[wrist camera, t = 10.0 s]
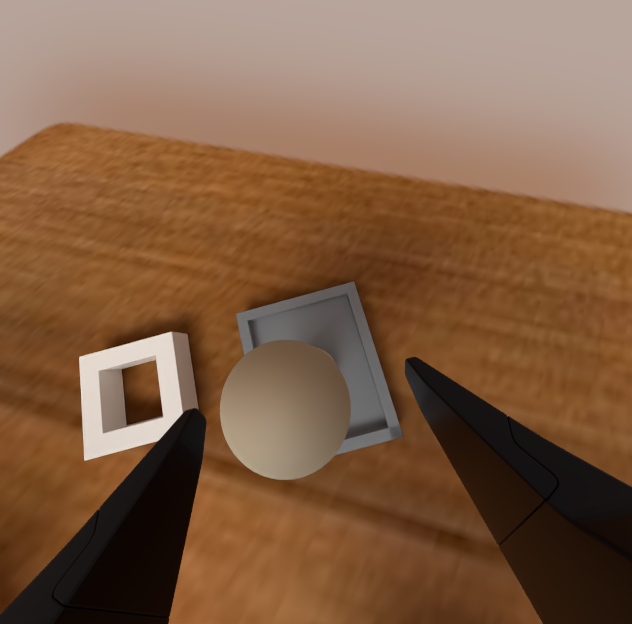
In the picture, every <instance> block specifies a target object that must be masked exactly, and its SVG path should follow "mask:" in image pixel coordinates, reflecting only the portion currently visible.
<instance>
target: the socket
mask: <svg viewBox="0 0 632 624" xmlns="http://www.w3.org/2000/svg"><path fill="white" fill-rule="evenodd" d="M153 360H156V361H157V369H158V377H159V386H160V394H161V403H162V411H163V416H159V417H156V418H152V419H148V420H145V421H141V422H137V423H134V424H130V425H127V424H126V412H125V401H124V389H123V378H122V369H124V368H128V367H131V366H135V365H139V364H142V363H146V362H150V361H153ZM79 362H80V382H81V402H82V421H83V441H84V461H85V460H89V459H93V458H96V457H100V456H104V455H108V454H111V453H115V452H119V451H122V450H126V449H130V448H133V447H137V446H141V445H144V444H148V443H152V442H155V441H159V440H160V438H161V437H162V436H163V435H164V434H165V433H166V432H167V431H168V429H169V428H170V427H171V426H172V425H173V424H174V423H175V421H176V420H177V419H178V418H179V417H180V416H181V415H182V413H183V412H184V411H186V410H188V409H192V408H197V409H198V410H199V408H198V401H197V395H196V388H195V381H194V375H193V368H192V361H191V355H190V348H189V341H188V335H187V334H185V333H178V332H168V333H165V334H161V335H157V336H154V337H150V338H147V339H143V340H139V341H136V342H132V343H128V344H125V345H121V346H117V347H114V348H110V349H107V350H103V351H99V352H96V353H92V354H88V355H85V356H81V357H79Z"/></svg>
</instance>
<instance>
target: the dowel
mask: <svg viewBox="0 0 632 624" xmlns="http://www.w3.org/2000/svg"><path fill="white" fill-rule="evenodd" d="M350 416H351V401H350V395H349V390H348V387H347V384H346V381H345V379H344V377H343V375H342V373H341V371H340V370H339V368H338V366H337V365H336V363H335V361H334V359H333V358H332V357H331V355H330V354H329V353H327V352H326V351H324V350H322V349H319V348H317V347H315V346H312V345H310V344H308V343H305V342H301V341H296V340H276V341H271V342H268V343H265V344H262V345H260V346H258V347H256V348H254V349H253V350H251V351H250V352H248V353H247V354H246V355H245V356H243V357H242V358H241V359H240V360H239V361H238V363H237V364H236V365H235V366H234V368H233V369H232V371H231V373H230V374H229V376H228V378H227V380H226V382H225V385H224V388H223V391H222V396H221V402H220V419H221V425H222V430H223V433H224V436H225V439H226V441H227V443H228V445H229V447H230V448H231V450H232V452H233V453H234V454H235V456H236V457H237V458H238V459H239V460H240V461H241V462H242V463H243V464H244V465H245V466H246V467H248V468H249V469H251V470H252V471H254V472H256V473H258V474H260V475H262V476H265V477H268V478H272V479H277V480H291V479H298V478H301V477H305V476H307V475H310V474H312V473H314V472H316V471H317V470H319V469H321V468H322V467H323V466H324V465H326V464H327V463H328V462H329V461H330V460H331V459H332V458H333V457H334V456H335V454H336V453H337V451H338V450H339V449H340V447H341V445H342V443H343V441H344V439H345V437H346V434H347V431H348V428H349V423H350Z"/></svg>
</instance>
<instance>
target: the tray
mask: <svg viewBox="0 0 632 624" xmlns="http://www.w3.org/2000/svg"><path fill="white" fill-rule="evenodd" d="M236 316H237V321H238V326H239V331H240V336H241V341H242V346H243V351H244V356H245V355H246V354H247V353H248V352H250V351H251V350H253V349H254V348H256V347H258V346H260V345H262V344H265V343H268V342H271V341H276V340H296V341H301V342H305V343H308V344H310V345H312V346H315V347H317V348H319V349H322V350H324V351H326V352H327V353H329V354H330V355H331V357H332V358H333V359H334V361H335V363H336V365H337V366H338V368H339V370H340V371H341V373H342V375H343V377H344V379H345V381H346V384H347V387H348V390H349V395H350V401H351V416H350V423H349V428H348V431H347V434H346V437H345V439H344V441H343V443H342V445H341V447H340V449H339V450H338V451H337V453H336V454H335V455H338V454H341V453H345V452H349V451H352V450H356V449H360V448H363V447H367V446H371V445H375V444H378V443H382V442H386V441H389V440H393V439H397V438H401V437H403V434H402V431H401V428H400V425H399V421H398V418H397V415H396V412H395V409H394V406H393V403H392V399H391V396H390V393H389V390H388V387H387V384H386V380H385V377H384V374H383V371H382V368H381V365H380V362H379V358H378V355H377V352H376V349H375V346H374V343H373V340H372V336H371V333H370V330H369V327H368V324H367V321H366V317H365V314H364V311H363V308H362V305H361V302H360V299H359V295H358V292H357V289H356V286H355V283H354V281H353V282H350V283H346V284H343V285H339V286H335V287H332V288H328V289H324V290H321V291H317V292H313V293H310V294H306V295H303V296H299V297H295V298H292V299H288V300H284V301H281V302H277V303H274V304H270V305H266V306H263V307H259V308H255V309H252V310H248V311H244V312H241V313H237V314H236Z"/></svg>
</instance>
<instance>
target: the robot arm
mask: <svg viewBox="0 0 632 624" xmlns="http://www.w3.org/2000/svg"><path fill="white" fill-rule="evenodd" d="M405 375H406V378H407V380H408V382H409V384H410V387H411V389H412V391H413V394H414V396H415V398H416V400H417V403H418V405H419V407H420V409H421V411H422V413H423V415H424V417H425V419H426V420H427V422H428V424H429V426H430V427H431V429H432V431H433V433H434V434H435V436H436V438H437V440H438V441H439V443H440V445H441V447H442V448H443V450H444V452H445V453H446V455H447V457H448V459H449V460H450V462H451V464H452V466H453V467H454V469H455V471H456V473H457V474H458V476H459V478H460V480H461V481H462V483H463V485H464V487H465V488H466V490H467V492H468V493H469V495H470V497H471V499H472V500H473V502H474V504H475V506H476V507H477V509H478V511H479V513H480V514H481V516H482V518H483V520H484V521H485V523H486V525H487V526H488V528H489V530H490V532H491V533H492V535H493V537H494V539H495V540H496V542H497V544H498V545H499V548H500V549H501V551H502V553H503V555H504V556H505V558H506V560H507V562H508V563H509V565H510V567H511V568H512V570H513V572H514V574H515V575H516V577H517V579H518V581H519V582H520V584H521V586H522V588H523V589H524V591H525V593H526V595H527V596H528V598H529V600H530V602H531V603H532V605H533V607H534V608H535V610H536V612H537V614H538V615H539V617H540V619H541V621H542V622H543V624H632V487H631V486H629V485H627V484H625V483H623V482H622V481H620V480H618V479H616V478H614V477H613V476H611V475H609V474H607V473H605V472H603V471H602V470H600V469H598V468H596V467H594V466H593V465H591V464H589V463H587V462H585V461H584V460H582V459H580V458H578V457H576V456H575V455H573V454H571V453H569V452H567V451H566V450H564V449H562V448H560V447H559V446H557V445H555V444H553V443H552V442H550V441H548V440H546V439H545V438H543V437H541V436H540V435H538V434H536V433H535V432H533V431H531V430H530V429H528V428H527V427H525V426H523V425H522V424H520V423H519V422H517V421H515V420H514V419H512V418H511V417H509V416H508V417H507V415H506V414H504V413H503V412H501V411H500V410H498V409H497V408H495V407H493V406H492V405H490V404H489V403H487V402H486V401H484V400H483V399H481V398H479V397H478V396H476V395H475V394H473V393H472V392H470V391H468V390H467V389H465V388H464V387H462V386H461V385H459V384H458V383H456V382H454V381H453V380H451V379H450V378H448V377H447V376H445V375H444V374H442V373H440V372H439V371H437V370H436V369H434V368H433V367H431V366H429V365H428V364H426V363H425V362H423V361H422V360H420V359H419V358H417V357H411V358H407V359H406V360H405ZM205 432H206V419H205V417H204V416H203V415H202V413H201V412H200V411H199V410H198V409H197V408H192V409H188V410H186V411H184V412H183V413H182V415H181V416H180V417H179V418H178V419H177V420H176V421H175V423H174V424H173V425H172V426H171V427H170V428H169V429H168V431H167V432H166V433H165V434H164V435H163V436H162V437H161V438H160V440H159V441H158V442H157V443H156V444H155V445H154V446H153V448H152V449H151V450H150V451H149V452H148V453H147V454H146V456H145V457H144V458H143V459H142V460H141V461H140V462H139V464H138V465H137V466H136V467H135V468H134V469H133V470H132V472H131V473H130V474H129V475H128V476H127V477H126V478H125V479H124V481H123V482H122V483H121V484H120V485H119V486H118V487H117V489H116V490H115V491H114V492H113V493H112V494H111V495H110V497H109V498H108V499H107V500H106V501H105V502H104V503H103V505H102V506H101V507H100V509H99V510H97V511H96V512H95V514H94V515H93V516H92V517H91V518H90V519H89V520H88V522H87V523H86V524H85V525H84V526H83V527H82V528H81V529H80V530H79V532H78V533H77V534H76V535H75V536H74V537H73V538H72V539H71V540H70V542H69V543H68V544H67V545H66V546H65V547H64V548H63V549H62V550H61V551H60V552H59V553H58V554H57V555H56V557H55V558H54V559H53V560H52V561H51V562H50V563H49V564H48V565H47V566H46V567H45V568H44V569H43V570H42V571H41V572H40V573H39V575H38V576H37V577H36V578H35V579H34V580H33V581H32V582H31V583H30V584H29V585H28V586H27V587H26V588H25V589H24V590H23V591H22V592H21V593H20V594H19V595H18V596H17V597H16V599H15V600H14V601H13V602H12V603H11V604H10V605H9V606H8V607H7V608H6V609H5V610H4V611H3V612H2V613H1V614H0V624H168V623H169V616H170V612H171V607H172V603H173V598H174V593H175V588H176V584H177V579H178V574H179V569H180V565H181V560H182V555H183V550H184V546H185V541H186V536H187V531H188V527H189V522H190V517H191V512H192V508H193V503H194V498H195V493H196V489H197V484H198V479H199V474H200V470H201V464H202V458H203V450H204V441H205Z"/></svg>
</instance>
